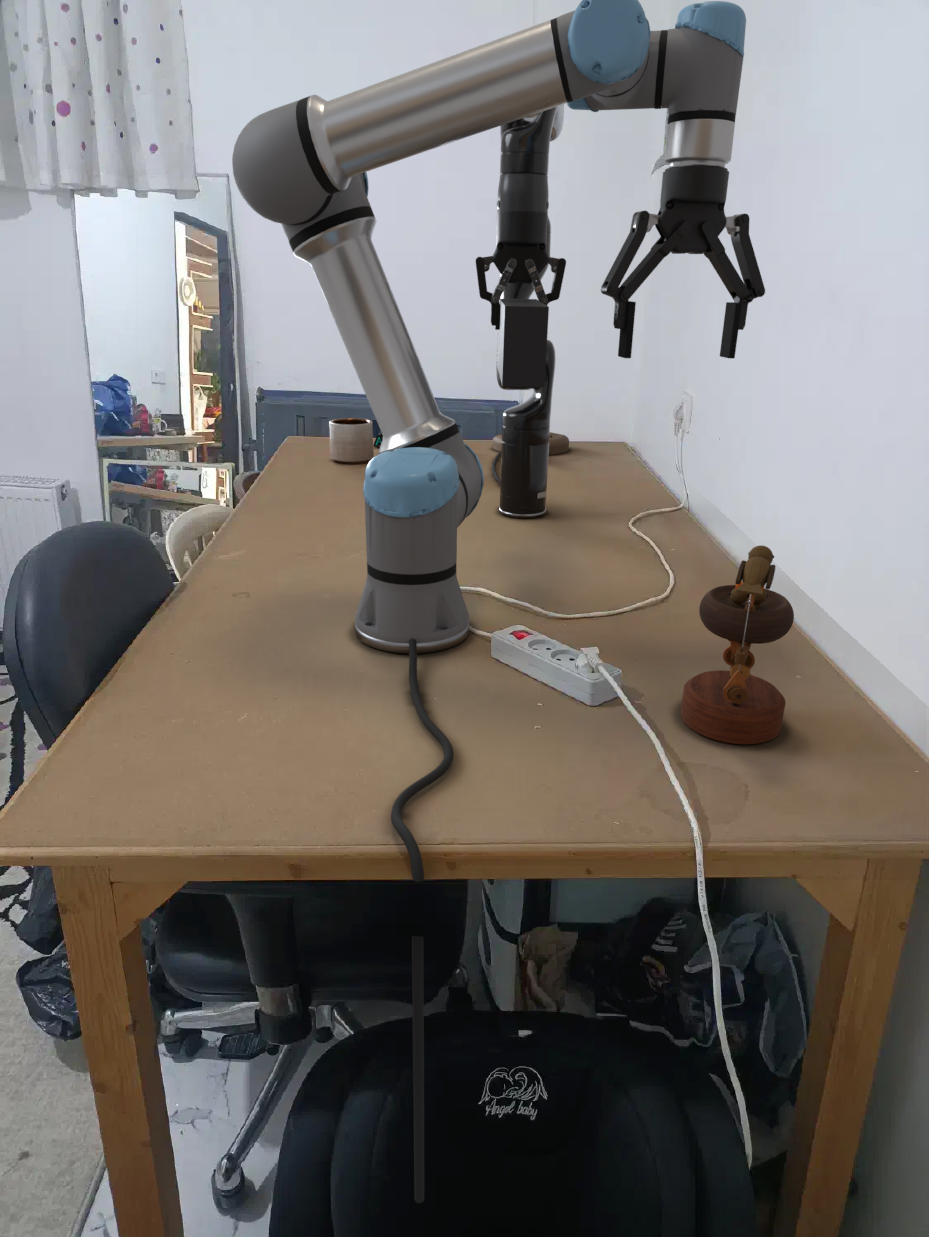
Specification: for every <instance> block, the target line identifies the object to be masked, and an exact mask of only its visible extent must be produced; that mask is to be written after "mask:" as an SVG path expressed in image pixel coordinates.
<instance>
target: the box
mask: <svg viewBox="0 0 929 1237" xmlns="http://www.w3.org/2000/svg"><path fill="white" fill-rule="evenodd" d="M499 304H500V330H499V335H498V334H497V343H498V366H497V367H498V371H499V375H500V379H501V384H502V387H537V388H544V387H545V370H546V352H547V340H548V330H549V314H550V313H549V312H550V307H549V305H545V304H543V303H542V302H540V301H539V300H538V298H529V299H500V300H499Z"/></svg>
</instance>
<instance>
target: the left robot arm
mask: <svg viewBox="0 0 929 1237" xmlns="http://www.w3.org/2000/svg"><path fill="white" fill-rule="evenodd" d="M746 28H747V16H746V13H745V11H744V9H743V8H742V7H741V6H740V5H739V4H736V3H734V2H730V1H723V0H722V1H721V0H711V1H704V2H697V3H691V4H688V5H686V6H685V7H683V8H682V9H681V10H680V11H679V12H678V15H677V20H676V23H675V24H674V28H668V29H661V30H651V26H650V22H649V20H648V18H647V17H646V13H645V10H644V8H643V6H642V4H641V3H640V1H639V0H581V1H580V3H579V4H578V5H577V7H576V8H575V10H572V11H569V12H566V13H563V14H561V15H559V16H557V17H554V18H552V19H549V20H546V21H543V22H541V23H537V24H535V25H532V26H530V27H527V28H524V29H521V30H519V31H516V32H512V33H511V34H508V35H506V36H503V37H499V38H497V39H495V40H492V41H489V42H486V43H483V44H481V45H480V44H479V45H478V46H475V47H473V48H469V49H467V50H464V51H461V52H459V53H456V54H453V55H450V56H447V57H444V58H443V59H440V60H436V61H434V62H432V63H429V64H426V65H424V66H423V65H422V66H421V67H418V68H415V69H413V70H410V71H406V72H404V73H401V74H399V75H396V76H393V77H390V78H387V79H385V80H382V81H379V82H376V83H374V84H370V85H368V86H366V87H362V88H360V89H358V90H357V89H356V90H354V91H352V92H350V93H349V92H348V93H346V94H343V95H342V96H338V97H336V98H333V99H330V100H326V99H324V98H322V97H321V96H319V95H317V94H312V95H309V96H306V97H303V98H300V99H299V100H295V101H293V102H289V103H287V104H283V105H281V106H278V107H274V108H273V109H269V110H267V111H265V112H263V113H261V114H258V115H257V116H255V117H253V118H252V119H251V120H249V122H247V123H246V125H245V126H244V127H243V128H242V129H241V131H240V133H239V134H238V136H237V138H236V141H235V144H234V146H233V151H232V159H231V162H232V164H231V165H232V175H233V179H234V182H235V185H236V188H237V190H238V191H239V193H240V196H241V197H242V199H243V201H245V203H246V205H248V206H249V207H250V208H251V209H252V211H254V212H255V213H256V214H258V215H259V216H260V217H262V218H263V219H265V220H268V221H271V222H274V223H276V224H280V226H281V228H282V230H283V233H284V234H285V237H286V240H287V242H288V244H289V247H290V249H291V250H292V251H291V252H292V253H293V255H294V257H296V258H298V259H300V260H301V261H304V262H306V263H308V264H309V265H310V266H311V269H312V271H313V273H314V275H315V278H316V280H317V282H318V285H319V287H320V290H321V293H322V295H323V297H324V299H325V301H326V304H327V306H328V309H329V311H330V313H331V316H332V318H333V320H334V323H335V326H336V327H337V330H338V332H339V335H340V337H341V340H342V342H343V344H344V346H345V349H346V352H347V354H348V356H349V358H350V361H351V363H352V365H353V368H354V370H355V374H356V375H357V377H358V380H359V382H360V385H361V387H362V390H363V392H364V394H365V396H366V399H367V402H368V404H369V406H370V409H371V411H372V413H373V416H374V418H375V421H376V423H377V425H378V427H379V429H380V433H382V435H383V441H382V443H381V446H380V445H379V448H378V452H377V453H378V454H377V455H374V457H373V459H371V460H370V461H368V463H367V464H366V467H365V471H364V481H363V489H362V494H363V497H364V517H365V518H364V520H365V545H366V546H365V548H366V549H365V550H366V579H365V584H364V586H363V589H362V592H361V596H360V600H359V602H358V606H357V609H356V612H355V618H354V633H355V636H356V638H357V639H358V640H359V641H360V642H362V643H363V644H365V645H367V646H368V647H371V648H374V649H377V650H380V651H384V652H390V653H396V654H397V653H398V654H408V662H409V663H408V680H409V681H408V682H409V689H410V694H411V698H412V701H413V704H414V707H415V710H416V713H417V715H418V717H419V719H420V721H421V724H423V726H424V727H425V728H426V730H427V731H428V732H429V734H431V735H432V736H433V737H434V738H435V739H436V740H437V741H438V743H439V744H440V745H441V747H442V749H443V758H442V761H441V762H440V763H439V765H438V766H436V768H434V769H433V770H432V771H431V772H429V773H427V774H426V775H424V776H423V777H421V778H420V779H418V780H416V781H415V782H413V783H412V784H410V785H409V786H408V787H406V788H405V789H404V790H402V791H401V793H400V794H398V796H397V797H396V799H395V800H394V802H393V805H392V808H391V813H390V821H391V824H392V826H393V828H394V830H395V832H396V833H397V834H398V835H399V837H400V838H401V840H402V841H403V843H404V845H405V847H406V850H407V853H408V856H409V860H410V866H411V876H412V879H413V881H414V882H416V883H422V882H423V880H425V872H424V864H423V858H422V854H421V851H420V847H419V845H418V842H417V840H416V839H415V837H414V835H413V833H412V832H411V830H410V829H409V828H408V826H407V825H406V824H405V822H404V820H403V817H402V814H403V813H402V812H403V810H404V807H405V805H406V804H407V803H408V802H409V800H410V799H411V798H412V797H414V796H415V795H416V794H417V793H419V792H420V791H422V790H424V789H425V788H426V787H428V786H430V785H431V784H432V783H435V782H436V781H437V780H439V779H440V778H442V776H444V775H445V774H446V773H447V772H448V770H450V768H451V766H452V763H453V761H454V748H453V745H452V743H451V741H450V739H449V738H448V737H447V735H446V734H445V732H443V731H442V730H441V729H440V728H439V727H438V726H437V725H436V724H435V723H434V721H432V719H431V718H430V717H429V715H428V713H427V710H426V708H425V705H424V703H423V700H422V697H421V692H420V688H419V682H418V654H425V653H433V652H439V651H443V650H446V649H449V648H452V647H455V646H457V645H458V644H460V643H462V642H463V641H464V640H466V639H467V637H468V636H469V634H470V616H469V612H468V608H467V606H466V601H465V599H464V596H463V593H462V589H461V586H460V583H459V581H458V577H457V561H458V560H457V559H458V558H457V557H458V556H457V554H458V528H459V527H460V526H461V524H462V523H464V521H465V519H466V518H468V517H469V516H470V515H471V514H472V513H473V512H474V510H475V509H476V507H477V506H478V503H479V502H480V499H481V497H482V493H483V488H484V483H485V482H484V480H485V479H484V477H485V475H484V470H483V466H482V463H481V461H480V458H479V457H478V455H477V454H476V453H475V451H474V450H473V448H471V447H470V446H469V445H468V444H466V443H465V441H464V439H463V437H462V434H461V431H460V429H459V427H458V424H457V422H456V420H455V419H454V418H452V417H450V416H447V415H445V414H443V413H442V412H441V411H440V408H439V406H438V403H437V401H436V399H435V398H436V397H435V396H434V393H433V391H432V388H431V386H430V383H429V381H428V379H427V376H426V373H425V371H424V368H423V365H422V363H421V361H420V358H419V356H418V353H417V351H416V348H415V344H414V343H413V340H412V338H411V335H410V333H409V330H408V328H407V325H406V323H405V321H404V318H403V315H402V313H401V311H400V308H399V305H398V303H397V301H396V297H395V295H394V292H393V290H392V288H391V285H390V282H389V280H388V278H387V275H386V272H385V271H384V270H385V269H384V268H383V265H382V263H381V260H380V258H379V255H378V252H377V250H376V248H375V246H374V242H373V241H372V236H373V233H374V231H375V228H376V224H377V219H376V216H375V214H374V211H373V208H372V206H371V203H370V201H369V199H368V196H369V178H368V177H369V176H368V172H370V171H373V170H375V169H378V168H381V167H384V166H387V165H390V164H393V163H396V162H398V161H402V160H404V159H409V158H410V157H413V156H416V155H420V154H422V153H425V152H428V151H430V150H434V149H437V148H439V147H442V146H446V145H448V144H451V143H454V142H458V141H460V140H462V139H465V138H469V137H471V136H474V135H477V134H481V133H483V132H486V131H489V130H492V129H495V128H498V127H500V126H501V125H504V124H507V123H510V122H513V121H516V120H519V119H521V118H524V117H527V116H530V115H533V114H536V113H539V112H542V111H545V110H548V109H551V108H554V107H556V106H559V105H562V104H564V105H565V104H566V106H568V108H569V109H571V110H574V111H591V112H593V113H598V112H599V111H615V110H616V111H619V110H645V109H646V110H648V109H655V110H661V109H667V110H668V118H667V126H666V138H665V148H664V159H663V162H664V163H665V164H666V165H668V168H665V169H664V171H663V172H662V177H661V179H662V180H661V190H660V201H659V204H660V205H659V209H658V212H657V214H655V213H649V211H647V210H640V211H639V210H638V211H635V212H634V213H633V215H632V218H631V224H630V230H629V233H628V235H627V237H626V239H625V241H624V243H623V244H622V246H621V248H620V250H619V252H618V254H617V256H616V257H615V260H614V262H613V263H612V265H611V267H610V269H609V272H608V273H607V275H606V277H605V279H604V281H603V282H602V284H601V286H600V293H601V294H602V295H605V296H607V297H610V298H612V299H613V301H614V309H613V311H614V312H613V328H614V329H616V330H619V339H618V349H617V350H618V351H617V357H620V358H623V359H632V353H633V352H632V351H633V350H632V349H633V339H634V330H635V329H634V327H635V315H636V304H637V301H632V300H631V301H630V299H631V297H632V296H633V295H634V294H635V293H636V291H637V290H638V289H639V288H640V287H641V286H642V285H643V283H644V282H645V281H646V280H647V279H648V277H649V276H650V275H651V274H652V273H653V272H654V270H655V269H656V268H657V267H658V266H659V264H660V263H661V262H662V261H663V260H664V259H665V258H666V257H667V256H669V255H670V253H671V254H672V255H681V254H683V255H684V254H689V255H703V256H705V258H707V259H708V261H709V263H710V264H711V265H712V267H713V270H715V272H716V274H717V275H718V277H719V279H720V280H721V282H722V284H723V285H724V287H725V288H726V290H727V292H728V293H729V295H730V296H731V299H732V300H733V302H732V301H730V302H729V301H726V302H725V311H724V318H723V325H722V326H723V327H722V335H721V342H720V350H719V357H721V358H724V359H735V358H736V351H737V343H738V335H739V331H743V330H744V329H745V327H746V321H747V314H748V306H749V303H752V302H753V301H754V299H757V298H762V297H764V295H765V294H766V288H765V285H764V280H763V278H762V277H763V276H762V274H761V270H760V267H759V264H758V260H757V257H756V254H755V250H754V247H753V243H752V240H751V236H750V215H749V214H748V213H738V214H733V215H732V216H726V212H725V205H726V202H727V195H728V185H729V179H730V171H729V169H728V168H727V167H726V165H727V164H729V163H730V162H731V161H732V154H733V145H734V144H733V143H734V137H735V126H736V116H737V110H738V102H739V96H740V95H739V94H740V86H741V81H742V80H741V79H742V71H743V64H744V57H745V40H746ZM654 226H655V229H656V230H657V232H658V234H659V236H660V237H659V238H658V239H657V240H656V242H655V243H654V244H653V245H652V246H651V248H650V250H649V251H648V253H647V254H646V255H645V256H644V257H643V258H642V259H641V261H640V262H639V263H638V264H637V266H635V268H634V269H633V270H632V272H631V273H630V274H629V275H628V276H627V278H626V279H625V280H624V281H623V279H624V278H625V276H626V274H627V272H628V270H629V268H630V267H631V264H632V263H633V261H634V259H635V257H636V255H637V254H638V251H639V249H640V247H641V246H642V244H643V241H644V239H645V237H646V235H647V233H650V232H651V230H652V228H653V227H654ZM725 229H726V233H727V234H728V235H729V236H730V241H731V244H732V245H731V246H732V248H733V251H734V254H735V258H736V262H737V264H738V268H739V271H740V275H741V276H740V275H739V272H738V271H737V269H736V268H735V266H734V264H733V263H732V261H731V260H730V258H729V256H728V254H727V253H726V248H725V246H724V245H723V243H722V240H720V238H719V236H720V234H722V232H723V231H724V230H725ZM622 281H623V282H622ZM621 283H622V284H621ZM411 980H412V981H411V983H412V985H411V988H412V990H411V992H412V994H411V996H412V997H411V998H412V999H411V1000H412V1072H413V1073H412V1079H413V1080H412V1082H413V1084H412V1085H413V1086H412V1087H413V1088H412V1090H413V1184H414V1186H413V1187H414V1188H413V1189H414V1190H413V1191H414V1192H413V1193H414V1195H413V1196H414V1197H413V1198H414V1201H415V1203H417V1204H423V1202H424V1201H425V1016H424V1015H425V1014H424V1012H425V1010H424V1009H425V1007H424V1004H425V1003H424V1002H425V1001H424V1000H425V999H424V997H425V995H424V987H425V986H424V936H419V935H411Z"/></svg>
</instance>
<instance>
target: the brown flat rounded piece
mask: <svg viewBox="0 0 929 1237" xmlns="http://www.w3.org/2000/svg"><path fill="white" fill-rule="evenodd" d="M491 442H492V446H491V448H492V449H493V450H495V451H496V452H500V451H501V449H502V433H498V434H496V435H495V436H494V437H493V438H492V441H491ZM569 450H570V439H569V437H568V436H567V435H565V434H560V433H556V432H553V431H552V432H551V431H550V434H549V454H548V456H550V455H561V454H565V453H566V452H568V451H569Z"/></svg>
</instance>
